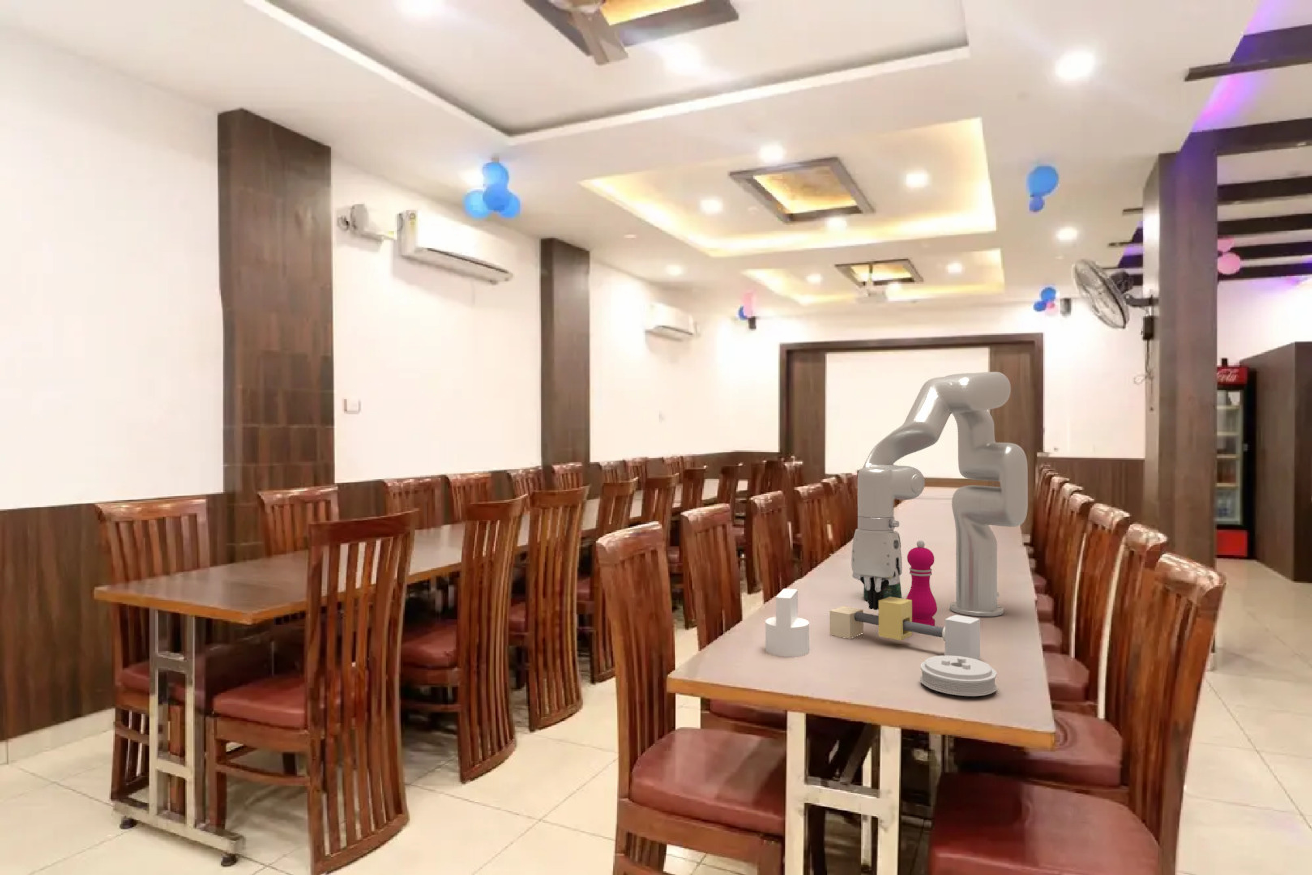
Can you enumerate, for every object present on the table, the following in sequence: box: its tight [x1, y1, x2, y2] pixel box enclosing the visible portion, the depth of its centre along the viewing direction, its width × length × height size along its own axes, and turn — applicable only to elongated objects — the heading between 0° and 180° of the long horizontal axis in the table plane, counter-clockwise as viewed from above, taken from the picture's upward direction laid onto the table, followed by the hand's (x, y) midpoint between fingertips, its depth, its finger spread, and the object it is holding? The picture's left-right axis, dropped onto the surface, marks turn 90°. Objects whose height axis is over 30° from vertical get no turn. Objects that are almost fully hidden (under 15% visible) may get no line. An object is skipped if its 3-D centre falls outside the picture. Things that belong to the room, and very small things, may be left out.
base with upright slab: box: [765, 588, 810, 658], centre depth 158 cm, size 9×9×12 cm
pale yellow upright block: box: [878, 597, 913, 641], centre depth 161 cm, size 5×5×8 cm
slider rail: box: [829, 605, 981, 660], centre depth 160 cm, size 6×31×8 cm, turn 46°
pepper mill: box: [905, 540, 938, 626], centre depth 176 cm, size 7×7×20 cm
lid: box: [919, 655, 998, 697], centre depth 135 cm, size 13×13×5 cm
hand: (875, 608), depth 165 cm, fingers closed
